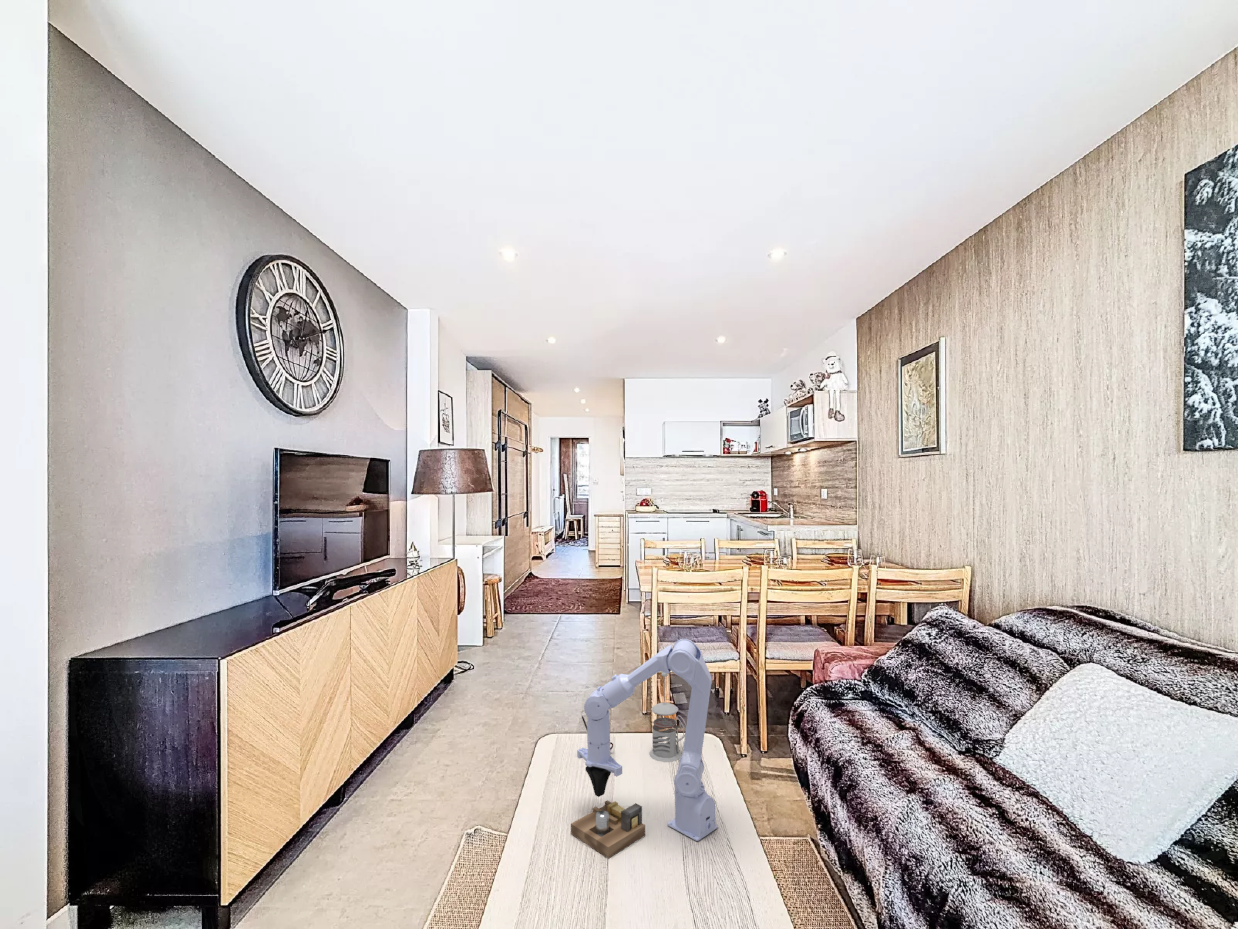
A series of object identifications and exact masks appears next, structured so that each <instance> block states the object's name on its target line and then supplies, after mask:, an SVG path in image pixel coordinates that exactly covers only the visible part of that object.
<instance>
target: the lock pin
mask: <svg viewBox="0 0 1238 929" xmlns="http://www.w3.org/2000/svg"><path fill="white" fill-rule="evenodd" d="M625 809H626V808H624V807H622V806H621V805H619V802H617V801H616V800H614V801H613V802H611V804H609V805H607V812H608V813H609V815H611V816H613V817H615V818H616V819H618V821H619V822H621V811H623V810H625ZM636 826H638V816H637V815H635V816H633V817H632V818H630V828H631V829H633V828H634V827H636Z"/></svg>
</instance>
